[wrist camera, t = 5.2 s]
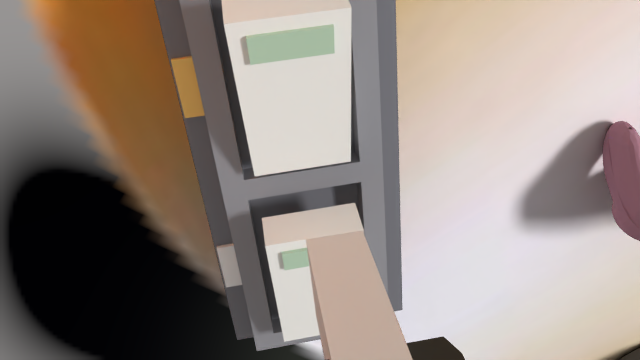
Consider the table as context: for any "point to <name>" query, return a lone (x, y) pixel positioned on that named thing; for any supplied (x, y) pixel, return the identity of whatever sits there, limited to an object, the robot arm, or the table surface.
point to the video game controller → (623, 175)
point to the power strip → (292, 186)
